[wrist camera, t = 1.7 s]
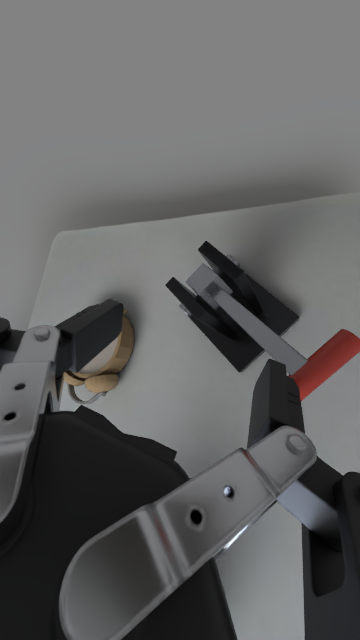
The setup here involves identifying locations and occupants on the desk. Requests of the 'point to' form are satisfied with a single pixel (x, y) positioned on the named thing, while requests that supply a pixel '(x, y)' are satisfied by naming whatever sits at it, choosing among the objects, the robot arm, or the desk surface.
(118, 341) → the alarm clock
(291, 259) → the desk surface
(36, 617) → the robot arm
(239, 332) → the switch bracket
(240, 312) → the lever
